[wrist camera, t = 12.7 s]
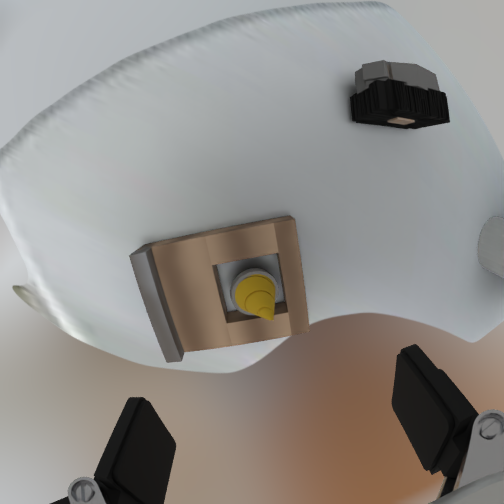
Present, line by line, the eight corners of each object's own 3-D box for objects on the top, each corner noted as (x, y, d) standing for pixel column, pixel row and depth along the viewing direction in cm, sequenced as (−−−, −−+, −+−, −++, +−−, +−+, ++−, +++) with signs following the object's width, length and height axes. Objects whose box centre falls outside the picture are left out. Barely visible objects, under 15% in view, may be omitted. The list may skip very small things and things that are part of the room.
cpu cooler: (408, 93, 28) (454, 75, 19) (413, 132, 30) (461, 124, 20) (339, 81, 28) (373, 52, 18) (343, 124, 30) (381, 107, 20)
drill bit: (226, 261, 33) (245, 295, 24) (270, 260, 34) (303, 292, 25) (225, 302, 34) (242, 347, 25) (267, 300, 36) (296, 341, 26)
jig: (290, 215, 32) (298, 222, 28) (305, 320, 36) (313, 340, 31) (144, 244, 33) (129, 255, 28) (174, 341, 36) (166, 362, 32)
